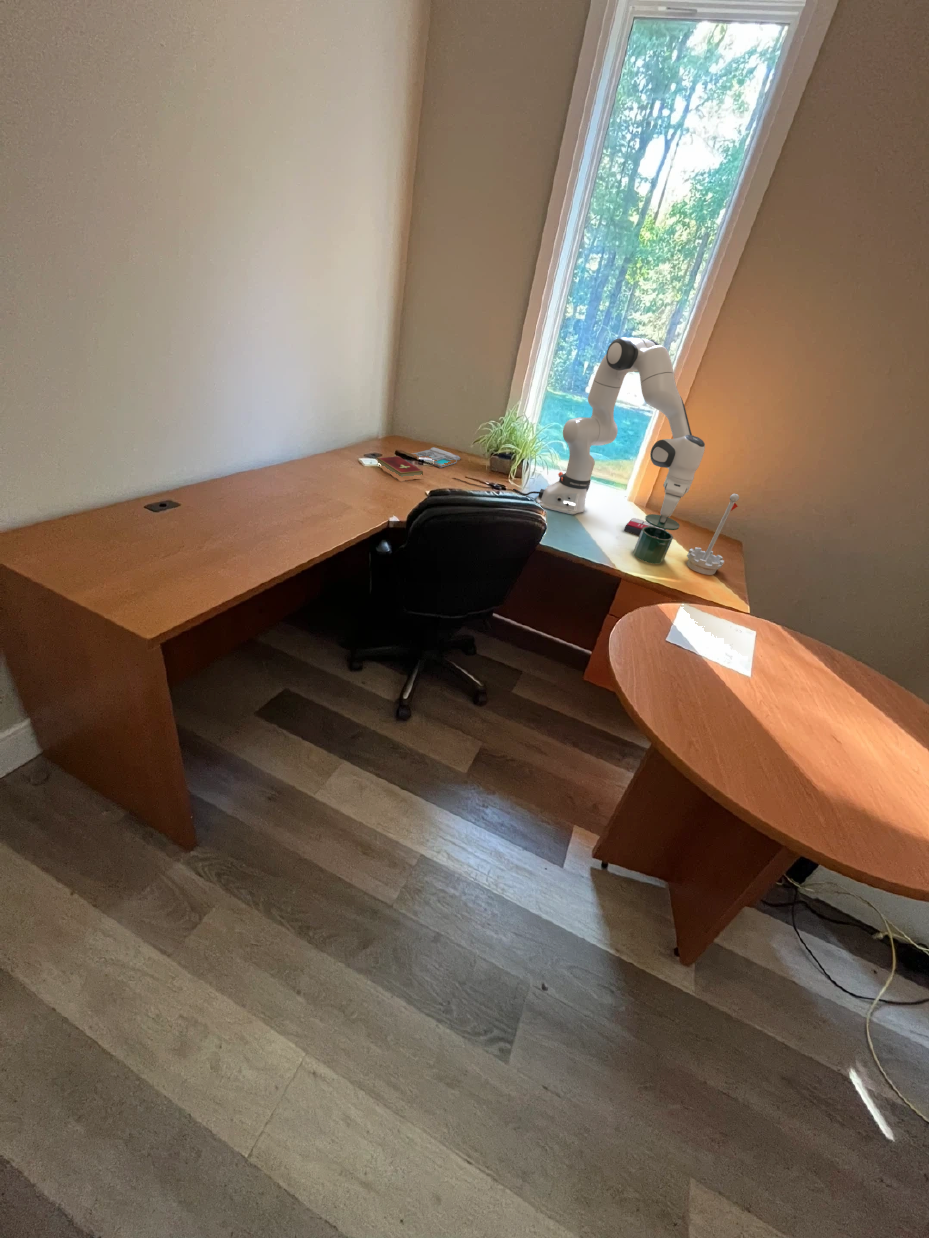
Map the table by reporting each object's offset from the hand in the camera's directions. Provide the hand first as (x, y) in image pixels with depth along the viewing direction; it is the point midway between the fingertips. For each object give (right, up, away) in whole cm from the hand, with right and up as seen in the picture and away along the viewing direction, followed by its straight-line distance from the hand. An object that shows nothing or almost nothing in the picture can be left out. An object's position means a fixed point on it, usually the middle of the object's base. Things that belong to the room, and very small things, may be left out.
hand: (662, 520), depth 182 cm
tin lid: (0, -1, +1) cm, 1 cm away
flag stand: (+18, -17, +9) cm, 26 cm away
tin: (-2, -13, +9) cm, 16 cm away
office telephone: (-88, +46, +71) cm, 122 cm away
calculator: (+3, 0, +29) cm, 29 cm away
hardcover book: (-105, +32, +47) cm, 119 cm away
